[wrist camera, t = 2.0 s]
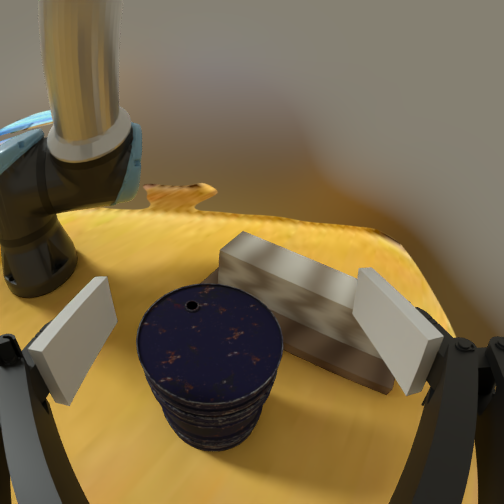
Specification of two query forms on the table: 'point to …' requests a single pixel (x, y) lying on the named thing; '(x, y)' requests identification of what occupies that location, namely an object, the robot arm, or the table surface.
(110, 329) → the robot arm
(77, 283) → the table surface
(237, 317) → the storage jar
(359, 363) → the ridge stand
